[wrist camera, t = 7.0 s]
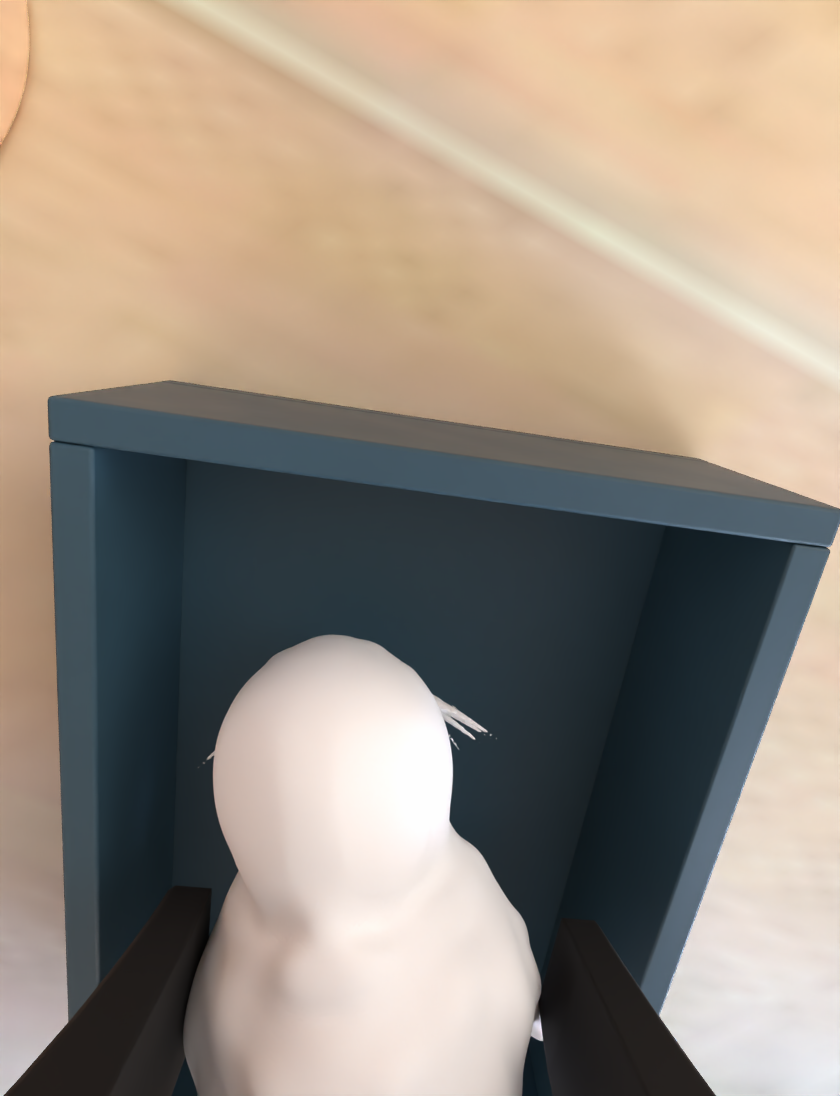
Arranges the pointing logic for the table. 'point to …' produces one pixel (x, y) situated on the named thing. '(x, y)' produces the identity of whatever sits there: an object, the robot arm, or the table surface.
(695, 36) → the table surface
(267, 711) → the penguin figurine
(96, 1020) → the robot arm
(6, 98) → the beige tall cylinder
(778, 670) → the bin
